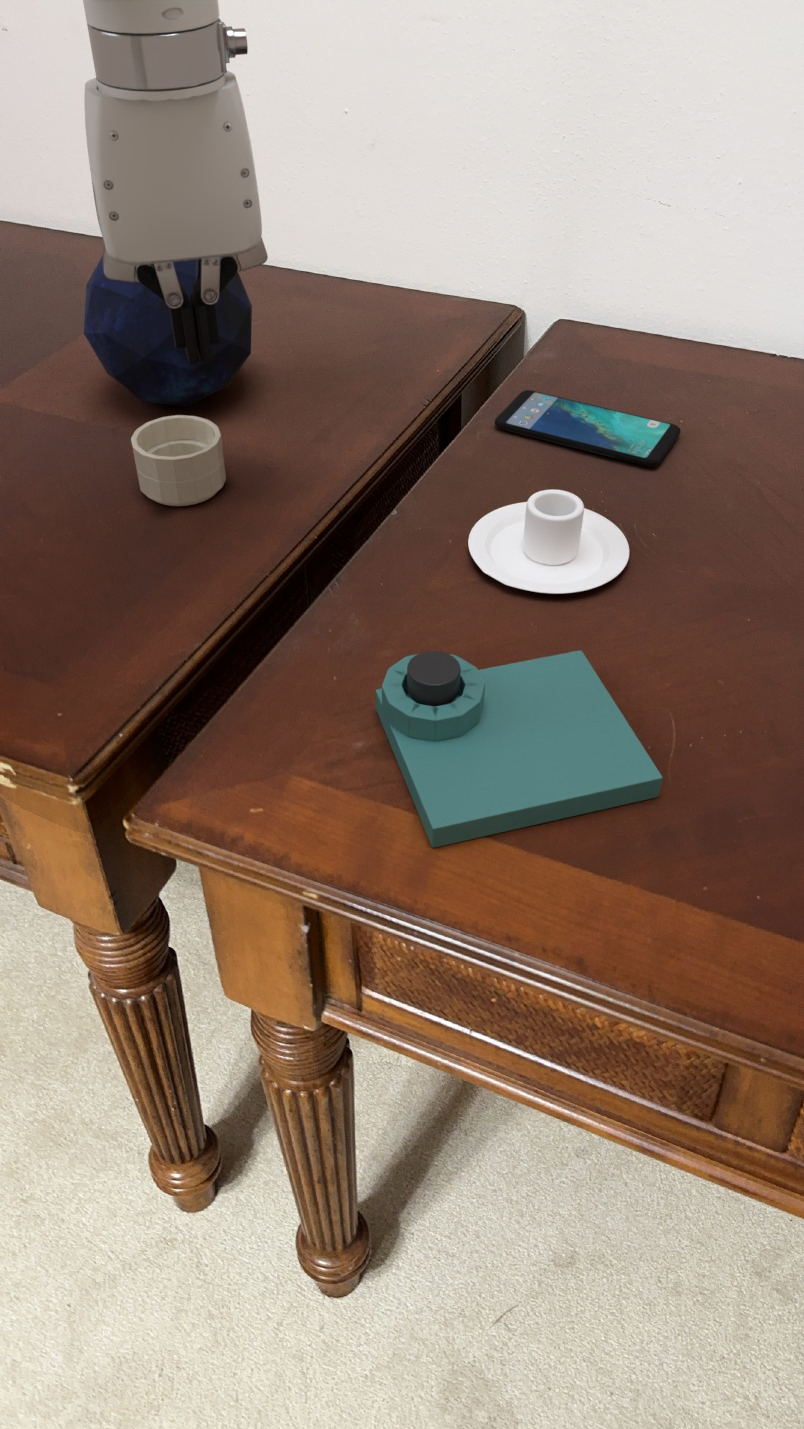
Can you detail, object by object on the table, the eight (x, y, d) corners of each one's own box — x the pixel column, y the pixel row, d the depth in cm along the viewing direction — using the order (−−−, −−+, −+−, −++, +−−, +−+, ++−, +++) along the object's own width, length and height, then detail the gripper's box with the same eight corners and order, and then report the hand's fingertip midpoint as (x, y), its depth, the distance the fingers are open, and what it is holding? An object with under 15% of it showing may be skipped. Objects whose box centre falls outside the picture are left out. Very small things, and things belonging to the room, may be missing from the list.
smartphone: (524, 387, 100) (683, 425, 95) (523, 395, 101) (682, 433, 96) (491, 421, 96) (657, 463, 91) (490, 429, 96) (655, 471, 91)
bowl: (145, 515, 86) (136, 464, 83) (135, 470, 91) (126, 421, 88) (232, 501, 88) (226, 451, 85) (218, 459, 93) (212, 410, 90)
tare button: (415, 711, 66) (416, 689, 64) (400, 677, 68) (400, 655, 67) (466, 701, 66) (467, 679, 65) (450, 667, 68) (451, 646, 67)
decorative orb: (145, 406, 88) (208, 219, 85) (24, 354, 95) (79, 180, 92) (252, 445, 101) (310, 284, 98) (138, 398, 107) (190, 245, 104)
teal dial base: (431, 849, 62) (432, 807, 60) (372, 703, 71) (371, 662, 68) (658, 797, 65) (668, 755, 62) (575, 663, 74) (581, 622, 71)
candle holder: (478, 605, 78) (482, 555, 75) (458, 512, 87) (461, 464, 84) (644, 597, 79) (654, 547, 76) (608, 506, 88) (616, 457, 85)
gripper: (273, 33, 68) (293, 320, 81) (25, 49, 65) (85, 344, 78) (297, 63, 63) (314, 366, 76) (28, 82, 60) (92, 393, 73)
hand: (198, 354), depth 77 cm, fingers closed
